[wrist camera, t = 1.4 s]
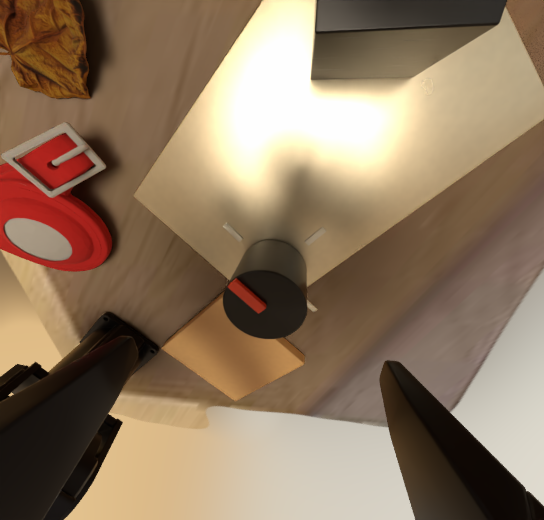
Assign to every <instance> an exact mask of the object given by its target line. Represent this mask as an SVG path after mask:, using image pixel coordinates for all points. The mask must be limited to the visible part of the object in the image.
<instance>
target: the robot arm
mask: <svg viewBox="0 0 544 520" xmlns="http://www.w3.org/2000/svg"><path fill="white" fill-rule="evenodd" d="M158 351H159V348H158V347H157V346H156V345H154V344H153V343H152V342H150V341H149V340H147V339H146V338H144V337H143V336H142V335H140V334H139V333H137V332H136V331H135V330H133V329H132V328H130V327H129V326H128V325H126V324H125V323H123V322H122V321H121V320H119V319H118V318H116V317H115V316H113V315H112V314H110V313H108V312H106V313H104V314H103V315H102V316H101V317H100V318H99V319H98V321H97V322H96V323H95V324H94V325H93V327H92V328H91V329H90V330H89V331H88V333H87V334H86V335H85V336H84V337H83V339H82V340H81V341H80V344H79V345H78V346H77V347H76V348H75V349H74V350H72V351H71V352H70V353H69V354H68V355H67V356H66V357H65V358H63V359H62V360H61V361H60V362H59V363H58V364H57V365H56V366H55V367H53V368H52V369H51V370H50V371H49V372H47V371H45V370H44V369H43V368H41V365H40V364H38V363H37V362H35V363H34V364H32V365H31V366H30V367H28V366H24V365H19V364H17V365H15V366H14V367H13V368H11V369H10V370H9V371H7V372H6V373H5V374H3V375H2V376H1V377H0V520H64V519H65V518H66V517H67V516H68V515H69V514H70V513H71V511H72V510H73V509H74V508H75V507H76V505H77V504H78V503H79V502H80V500H81V499H82V498H83V496H84V495H85V493H86V492H87V491H88V489H89V487H90V486H91V484H92V483H93V481H94V479H95V477H96V475H97V473H98V471H99V469H100V467H101V465H102V463H103V461H104V459H105V457H106V455H107V453H108V451H109V449H110V447H111V445H112V443H113V441H114V439H115V437H116V435H117V433H118V431H119V429H120V427H121V425H122V423H123V422H122V421H120V420H119V419H115V418H114V417H112V416H111V415H109V414H108V413H109V411H110V410H111V408H112V407H113V405H114V403H115V401H116V400H117V398H118V396H119V394H120V392H121V390H122V388H123V386H124V385H125V384H126V382H127V381H128V380H129V378H130V377H131V376H132V375H133V374H134V373H135V372H136V371H137V370H138V369H140V368H141V367H142V366H143V365H144V364H146V363H147V362H148V361H149V360H150V359H151V358H153V357H154V356H155V355H156V354H157V353H158ZM380 387H381V392H382V397H383V402H384V407H385V412H386V417H387V422H388V427H389V432H390V436H391V440H392V443H393V446H394V450H395V453H396V457H397V460H398V463H399V467H400V470H401V473H402V476H403V480H404V483H405V487H406V490H407V493H408V496H409V500H410V503H411V507H412V510H413V513H414V516H415V520H544V506H543V505H542V504H541V503H540V502H539V501H538V500H537V499H536V498H535V497H534V496H533V495H532V494H531V493H530V492H528V491H526V489H525V487H524V486H523V485H522V484H521V483H520V482H519V481H518V480H517V479H516V478H515V477H514V476H513V475H512V474H511V473H510V472H509V471H508V470H507V469H506V468H505V467H504V466H503V465H502V464H501V463H500V462H499V461H498V460H497V459H496V458H495V457H494V456H493V455H492V454H491V453H490V452H489V451H488V450H487V449H486V448H485V447H484V446H483V445H482V444H481V443H480V442H479V441H478V440H477V439H476V438H475V437H474V436H473V435H472V434H471V433H470V432H469V431H468V430H467V429H466V428H465V427H464V426H463V425H462V424H461V423H460V422H459V421H458V420H457V419H456V418H455V417H454V416H453V415H452V414H451V413H450V412H449V411H448V410H447V409H446V408H445V407H444V406H443V405H442V404H441V403H440V402H439V401H438V400H437V399H436V398H435V397H434V396H433V395H432V394H431V393H430V392H429V391H428V390H427V389H426V388H425V387H424V386H423V385H422V384H421V383H420V382H419V381H418V380H417V379H416V378H415V377H414V376H413V375H412V374H411V373H410V372H409V371H408V370H407V369H406V368H405V367H404V366H403V365H402V364H401V363H400V362H397V361H388V360H387V361H385V362H384V365H383V368H382V371H381V375H380ZM11 392H12V393H13V394H14V395H12V396H8V395H9V394H10V393H11Z"/></svg>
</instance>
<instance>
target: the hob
mask: <svg viewBox="0 0 544 520" xmlns="http://www.w3.org/2000/svg"><path fill="white" fill-rule="evenodd" d="M314 11H315V0H262V1H261V3H260V4H259V6H258V7H257V9H256V10H255V12H254V13H253V15H252V16H251V18H250V19H249V21H248V23H247V24H246V26H245V27H244V29H243V30H242V32H241V33H240V35H239V36H238V38H237V39H236V41H235V42H234V44H233V45H232V47H231V48H230V50H229V51H228V53H227V54H226V56H225V57H224V59H223V60H222V62H221V63H220V65H219V66H218V68H217V69H216V71H215V72H214V74H213V75H212V77H211V78H210V80H209V81H208V83H207V84H206V86H205V87H204V89H203V91H202V92H201V94H200V95H199V97H198V98H197V100H196V101H195V103H194V104H193V106H192V107H191V109H190V110H189V112H188V113H187V115H186V116H185V118H184V119H183V121H182V122H181V124H180V125H179V127H178V128H177V130H176V131H175V133H174V134H173V136H172V137H171V139H170V140H169V142H168V143H167V145H166V146H165V148H164V149H163V151H162V152H161V154H160V155H159V157H158V159H157V160H156V162H155V163H154V165H153V166H152V168H151V169H150V171H149V172H148V174H147V175H146V177H145V178H144V180H143V181H142V183H141V184H140V186H139V187H138V189H137V190H136V192H135V193H134V195H133V197H135V198H136V199H137V200H138V201H139V202H140V203H141V204H143V205H144V206H145V207H146V208H147V209H148V210H149V211H151V212H152V213H153V214H154V215H155V216H156V217H157V218H159V219H160V220H161V221H162V222H163V223H164V224H165V225H167V226H168V227H169V228H170V229H171V230H172V231H173V232H175V233H176V234H177V235H178V236H179V237H180V238H181V239H183V240H184V241H185V242H186V243H187V244H188V245H189V246H191V247H192V248H193V249H194V250H195V251H196V252H197V253H199V254H200V255H201V256H202V257H203V258H204V259H205V260H207V261H208V262H209V263H210V264H211V265H212V266H213V267H215V268H216V269H217V270H218V271H219V272H220V273H221V274H223V275H224V276H225V277H226V278H227V279H228V280H229V281H230V279H231V277H232V275H233V274H234V272H235V270H236V268H237V266H238V264H239V263H240V261H241V259H242V257H243V255H244V254H245V252H246V251H247V250H248V249H249V248H250V247H251V246H252V245H254V244H256V243H258V242H261V241H265V240H278V241H282V242H285V243H287V244H289V245H291V246H293V247H294V248H295V249H296V250H298V252H299V253H300V254H301V255H302V257H303V259H304V261H305V264H306V269H307V287H308V286H309V285H311V284H312V283H314V282H315V281H316V280H318V279H319V278H321V277H322V276H323V275H325V274H326V273H328V272H329V271H330V270H332V269H333V268H335V267H336V266H338V265H339V264H340V263H342V262H343V261H345V260H346V259H347V258H349V257H350V256H352V255H353V254H354V253H356V252H357V251H359V250H360V249H362V248H363V247H364V246H366V245H367V244H369V243H370V242H371V241H373V240H374V239H376V238H377V237H378V236H380V235H381V234H383V233H384V232H386V231H387V230H388V229H390V228H391V227H393V226H394V225H395V224H397V223H398V222H400V221H401V220H403V219H404V218H405V217H407V216H408V215H410V214H411V213H412V212H414V211H415V210H417V209H418V208H419V207H421V206H422V205H424V204H425V203H427V202H428V201H429V200H431V199H432V198H434V197H435V196H436V195H438V194H439V193H441V192H442V191H443V190H445V189H446V188H448V187H449V186H451V185H452V184H453V183H455V182H456V181H458V180H459V179H460V178H462V177H463V176H465V175H466V174H467V173H469V172H470V171H472V170H473V169H475V168H476V167H477V166H479V165H480V164H482V163H483V162H484V161H486V160H487V159H489V158H490V157H491V156H493V155H494V154H496V153H497V152H499V151H500V150H501V149H503V148H504V147H506V146H507V145H508V144H510V143H511V142H513V141H514V140H515V139H517V138H518V137H520V136H521V135H523V134H524V133H525V132H527V131H528V130H530V129H531V128H532V127H534V126H535V125H537V124H538V123H539V122H541V121H542V120H544V85H543V83H542V80H541V78H540V76H539V74H538V72H537V70H536V68H535V66H534V64H533V62H532V60H531V58H530V55H529V53H528V51H527V49H526V47H525V45H524V43H523V41H522V39H521V37H520V35H519V32H518V30H517V28H516V26H515V24H514V22H513V20H512V18H511V16H510V14H509V12H508V9H507V7H506V5H505V8H504V11H503V14H502V17H501V20H500V23H499V24H498V25H497V26H495V27H494V28H492V29H490V30H489V31H487V32H486V33H484V34H482V35H481V36H479V37H477V38H476V39H474V40H473V41H471V42H469V43H468V44H466V45H465V46H463V47H461V48H460V49H458V50H456V51H455V52H453V53H452V54H450V55H448V56H447V57H445V58H444V59H442V60H440V61H439V62H437V63H435V64H434V65H432V66H431V67H429V68H427V69H426V70H424V71H423V72H421V73H419V74H418V75H416V76H414V77H407V78H369V79H330V80H310V74H311V58H312V42H313V27H314ZM307 307H308V308H309V309H310V310H311V311H313V312H315V311H316V310H317V308H316V307H315V306H314V305H313V304H312V303H311V302H310V301H309V300H308V299H307Z"/></svg>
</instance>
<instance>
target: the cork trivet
mask: <svg viewBox="0 0 544 520" xmlns="http://www.w3.org/2000/svg"><path fill="white" fill-rule="evenodd" d="M223 294H224V292H223V293H222V294H221V295H219V296H218V297H217V298H216V299H215V300H214V301H212V302H211V303H210V304H209V305H208V306H207V307H205V308H204V309H203V310H202V311H201V312H200V313H199V314H197V315H196V316H195V317H194V318H193V319H192V320H190V321H189V322H188V323H187V324H186V325H185V326H183V327H182V328H181V329H180V330H179V331H178V332H176V333H175V334H174V335H173V336H172V337H171V338H169V339H168V340H167V341H166V342H165V344H164V345H163V347H162V348H161V349H163V350H164V351H165V352H167V353H168V354H170V355H171V356H172V357H174V358H175V359H177V360H178V361H180V362H181V363H182V364H184V365H185V366H187V367H188V368H189V369H191V370H192V371H194V372H195V373H196V374H198V375H199V376H201V377H202V378H203V379H205V380H206V381H208V382H209V383H211V384H212V385H213V386H215V387H216V388H218V389H219V390H220V391H222V392H223V393H225V394H226V395H227V396H229V397H230V398H232V399H233V400H234V401H237V400H239V399H240V398H242V397H244V396H246V395H248V394H250V393H252V392H253V391H255V390H257V389H259V388H261V387H263V386H265V385H267V384H268V383H270V382H272V381H274V380H276V379H278V378H280V377H281V376H283V375H285V374H287V373H289V372H291V371H293V370H294V369H296V368H298V367H300V366H302V365H304V364H305V356H304V355H303V354H302V353H301V352H300V351H299V350H297V349H296V348H295V347H294V346H293V345H292V344H291V343H289V342H288V341H287V340H286V339H285V338H284V337H283V338H278V339H260V338H256V337H253V336H250V335H247V334H245V333H244V332H242V331H240V330H239V329H238V328H236V327H235V326H234V325H233V324H232V323H231V322H230V320H229V319H228V317H227V316H226V314H225V311H224V308H223Z"/></svg>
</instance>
